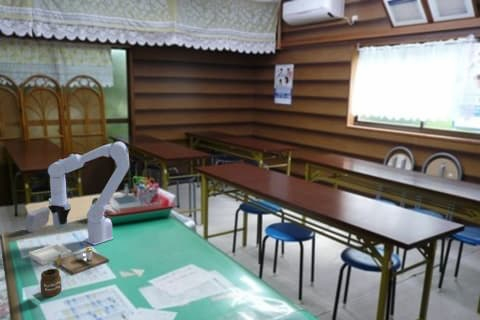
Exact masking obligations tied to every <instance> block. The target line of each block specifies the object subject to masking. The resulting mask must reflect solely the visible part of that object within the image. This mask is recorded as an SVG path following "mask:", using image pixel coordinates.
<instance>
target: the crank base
mask: <svg viewBox="0 0 480 320" xmlns="http://www.w3.org/2000/svg"><path fill="white" fill-rule="evenodd" d="M81 252H86V249H85V250H83V251H81ZM77 253H78V252H76V253H72V255H70V256H67V257H64V258H61V259H60V264H59V265H58V267H60V268H61V269H63V270H65V272H66V271H67V272H68V273H70V274H72V275H77V274H80V273H82V272H85V271H88V270H91V269H93V268H96V267H98V266H102V265H104V264H106V263H109V262H110V259H109V258H107V257H105V256H103V255H101V254H99V253H97V252H96V251H93V250H92V263H90V264H87V263H85V262H83V261H81V262H79V261H77V260H76V254H77ZM53 264H55V265H56V266H57V260H55V261H54V262H53Z"/></svg>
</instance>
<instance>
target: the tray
mask: <svg viewBox="0 0 480 320" xmlns="http://www.w3.org/2000/svg"><path fill="white" fill-rule="evenodd" d="M59 254H60V255H61V258H64V257H67V256H70V255H73V252H72V250H70V249H69V248H67V247H65V246H63V245H61V244H59V243H55V244H52V245H51V244H50V245H48V246H44V247H42V248H38V249H35V250H31V251H29V252H28V258H30V259H31V260H33V261H34V262H36V263H39V264H40V266H46V265H48V264H52V263H54V261H55V260H58V256H59ZM61 258H60V259H61ZM43 261H44V262H45V263H44V262H43ZM40 262H43V263H40ZM43 264H44V265H43Z"/></svg>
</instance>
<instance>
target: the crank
mask: <svg viewBox="0 0 480 320" xmlns="http://www.w3.org/2000/svg"><path fill="white" fill-rule="evenodd" d="M85 250H86V252H82V251H79V252H76V253H77V254H76V253H75V254H76V260H77V261H79V262H81V261H83V262H85V263H87V264H90V263H92V251H93V248H92V247H87V248H86V249H85Z"/></svg>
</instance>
